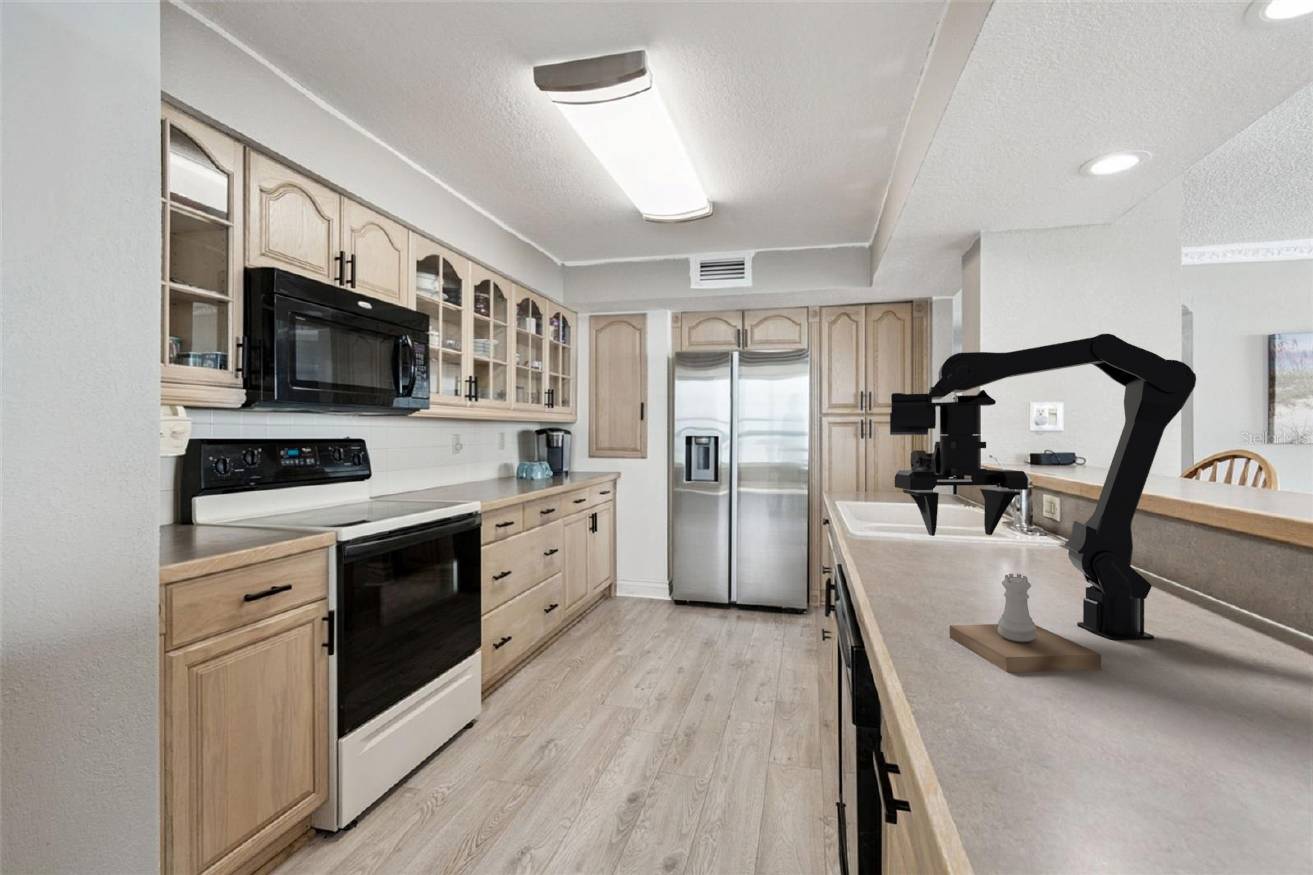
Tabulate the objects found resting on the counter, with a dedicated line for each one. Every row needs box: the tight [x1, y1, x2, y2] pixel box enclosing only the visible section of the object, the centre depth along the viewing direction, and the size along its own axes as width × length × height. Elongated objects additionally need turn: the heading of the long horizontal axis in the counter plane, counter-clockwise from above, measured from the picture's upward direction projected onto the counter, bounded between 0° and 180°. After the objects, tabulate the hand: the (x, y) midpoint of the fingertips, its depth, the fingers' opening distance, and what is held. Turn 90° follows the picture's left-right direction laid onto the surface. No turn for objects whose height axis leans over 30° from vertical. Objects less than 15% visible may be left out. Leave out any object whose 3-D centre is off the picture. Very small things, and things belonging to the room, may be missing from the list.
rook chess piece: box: [997, 573, 1037, 643], centre depth 76 cm, size 4×4×8 cm
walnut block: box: [949, 623, 1102, 673], centre depth 77 cm, size 12×12×2 cm
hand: (960, 535), depth 92 cm, fingers open, 9 cm apart
